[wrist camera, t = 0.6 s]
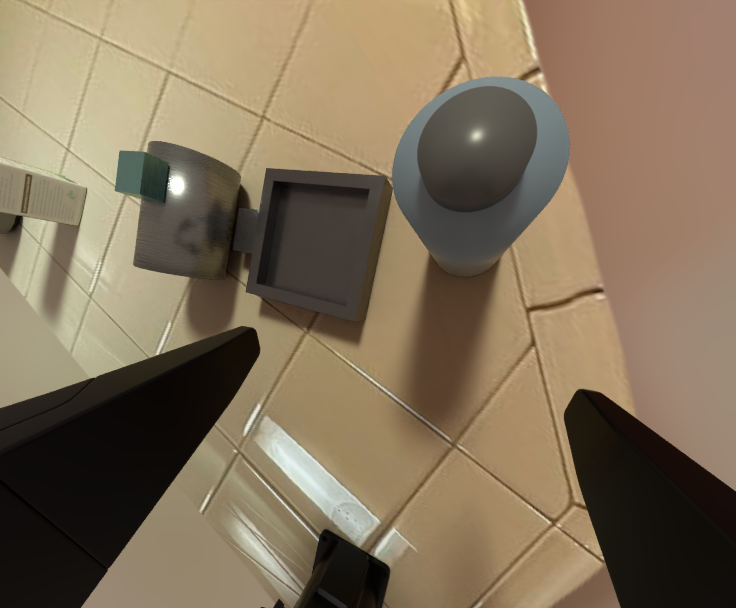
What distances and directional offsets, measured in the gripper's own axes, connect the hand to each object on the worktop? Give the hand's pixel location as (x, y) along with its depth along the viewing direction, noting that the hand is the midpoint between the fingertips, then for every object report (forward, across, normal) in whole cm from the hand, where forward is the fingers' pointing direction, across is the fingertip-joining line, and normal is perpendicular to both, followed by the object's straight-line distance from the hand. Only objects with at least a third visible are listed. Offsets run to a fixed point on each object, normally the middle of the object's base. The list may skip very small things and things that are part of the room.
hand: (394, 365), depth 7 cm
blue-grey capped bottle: (+15, -3, 0) cm, 15 cm away
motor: (+16, +14, +2) cm, 22 cm away
